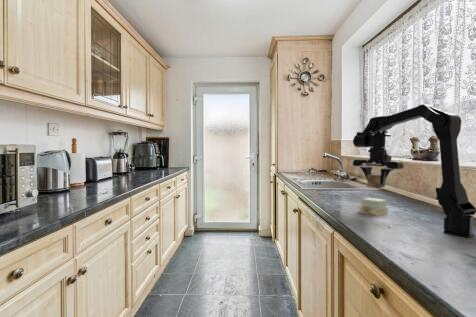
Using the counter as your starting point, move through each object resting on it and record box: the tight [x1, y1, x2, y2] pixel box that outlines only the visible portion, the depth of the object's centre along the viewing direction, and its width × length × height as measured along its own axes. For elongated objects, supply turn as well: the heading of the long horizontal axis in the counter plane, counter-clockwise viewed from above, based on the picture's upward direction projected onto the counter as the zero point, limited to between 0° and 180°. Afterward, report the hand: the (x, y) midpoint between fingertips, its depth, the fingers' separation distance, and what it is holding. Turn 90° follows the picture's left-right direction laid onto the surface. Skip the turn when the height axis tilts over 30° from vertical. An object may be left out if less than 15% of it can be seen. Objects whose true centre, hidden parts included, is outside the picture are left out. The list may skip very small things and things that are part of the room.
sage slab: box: [361, 197, 387, 209], centre depth 115 cm, size 7×7×3 cm
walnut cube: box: [366, 173, 386, 189], centre depth 115 cm, size 5×5×5 cm
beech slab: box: [358, 205, 389, 217], centre depth 115 cm, size 8×8×3 cm
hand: (375, 184), depth 115 cm, fingers closed on walnut cube, 5 cm apart
